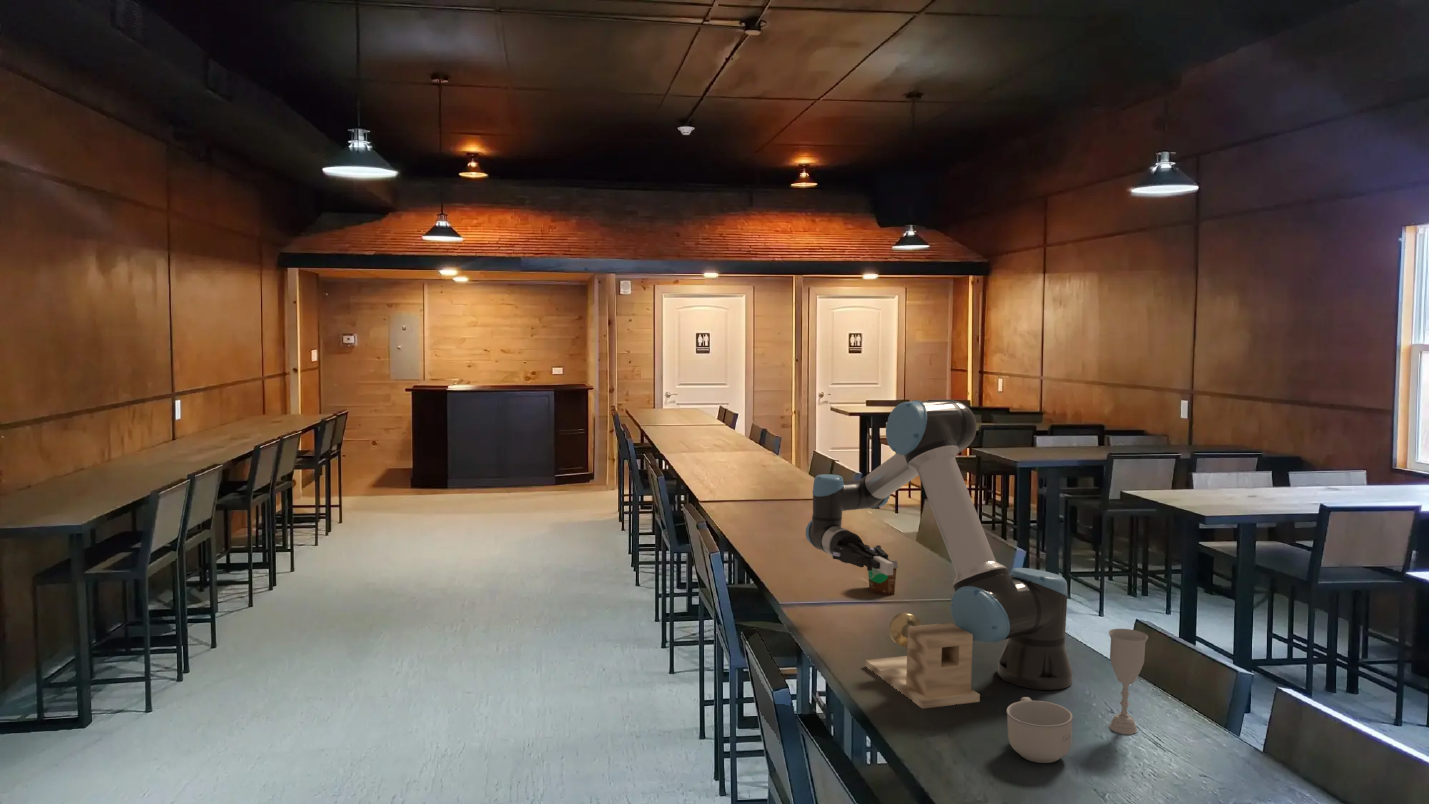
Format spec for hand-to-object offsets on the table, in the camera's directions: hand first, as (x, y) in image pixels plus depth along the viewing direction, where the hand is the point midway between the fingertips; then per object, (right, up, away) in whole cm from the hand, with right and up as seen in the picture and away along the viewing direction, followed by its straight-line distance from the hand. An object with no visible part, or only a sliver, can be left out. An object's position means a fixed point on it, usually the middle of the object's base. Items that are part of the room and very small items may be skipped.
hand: (890, 569), depth 207 cm
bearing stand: (+4, -22, -11) cm, 25 cm away
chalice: (+38, -24, -33) cm, 55 cm away
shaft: (+4, -16, -11) cm, 19 cm away
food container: (+7, -17, +60) cm, 62 cm away
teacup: (+18, -25, -43) cm, 53 cm away
